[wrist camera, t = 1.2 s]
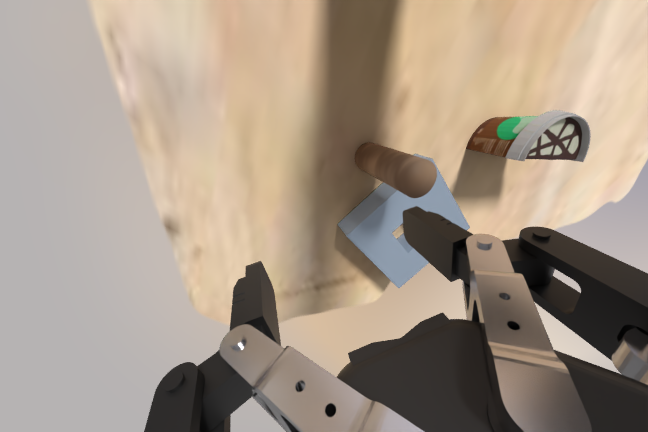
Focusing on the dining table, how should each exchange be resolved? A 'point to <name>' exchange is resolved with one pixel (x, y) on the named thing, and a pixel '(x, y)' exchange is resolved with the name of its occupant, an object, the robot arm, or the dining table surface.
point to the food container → (534, 137)
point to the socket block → (396, 226)
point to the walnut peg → (397, 169)
